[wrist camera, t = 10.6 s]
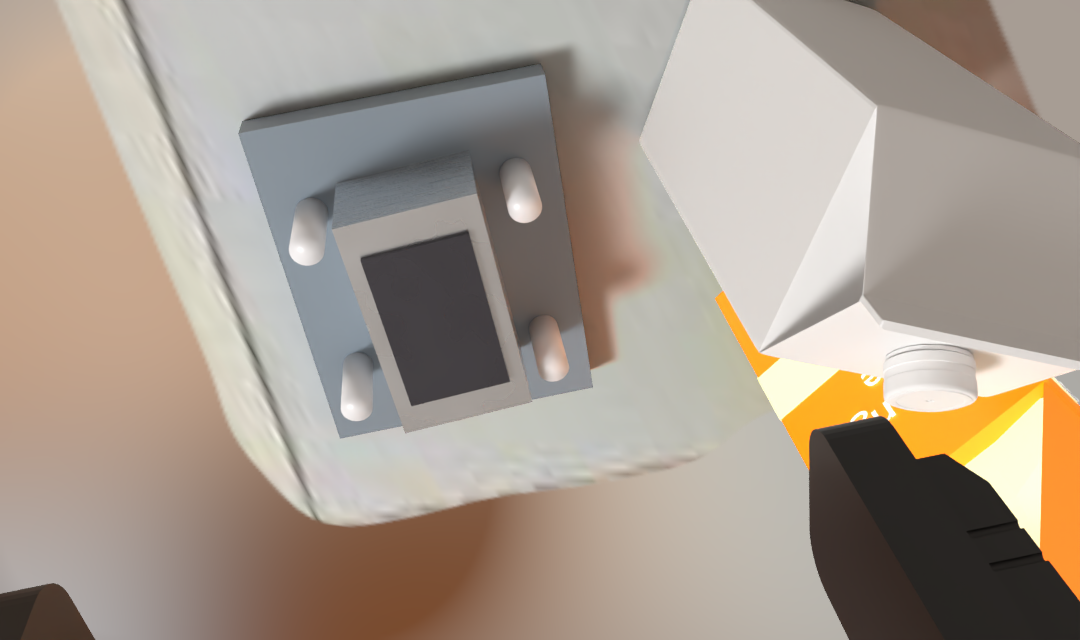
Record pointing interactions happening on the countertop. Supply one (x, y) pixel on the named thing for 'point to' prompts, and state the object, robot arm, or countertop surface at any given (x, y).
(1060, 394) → the orange juice
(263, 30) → the countertop surface
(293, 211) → the grey plate with pegs
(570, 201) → the countertop surface
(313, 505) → the countertop surface
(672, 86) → the milk carton
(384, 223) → the block
